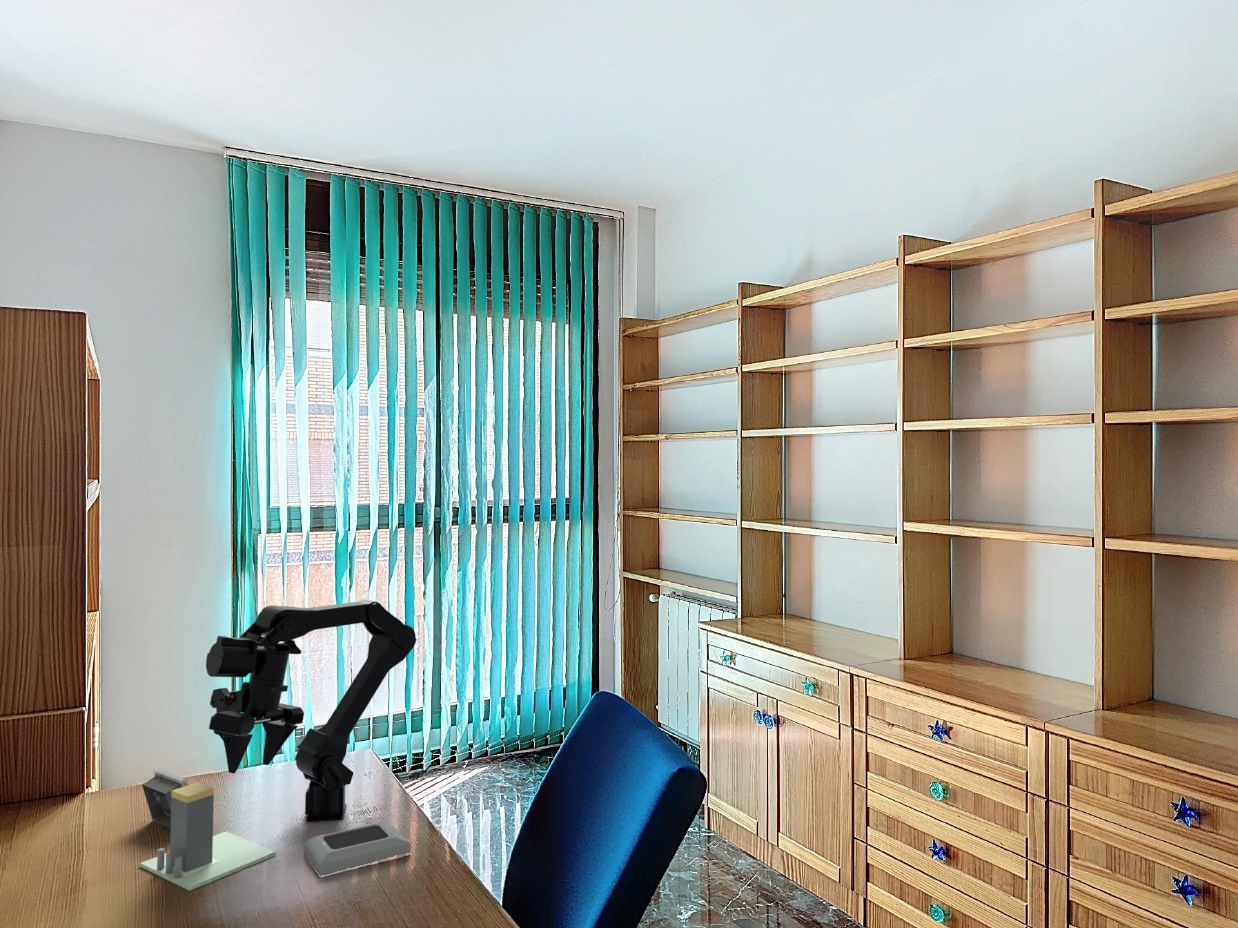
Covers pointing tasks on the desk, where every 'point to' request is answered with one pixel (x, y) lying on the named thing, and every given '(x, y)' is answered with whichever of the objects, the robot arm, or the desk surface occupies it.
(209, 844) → the plug block
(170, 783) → the electrical switch
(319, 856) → the grey beveled box
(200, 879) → the board
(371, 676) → the robot arm
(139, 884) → the desk surface
